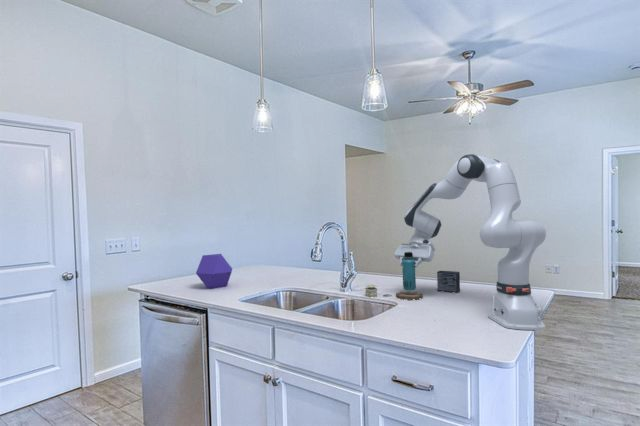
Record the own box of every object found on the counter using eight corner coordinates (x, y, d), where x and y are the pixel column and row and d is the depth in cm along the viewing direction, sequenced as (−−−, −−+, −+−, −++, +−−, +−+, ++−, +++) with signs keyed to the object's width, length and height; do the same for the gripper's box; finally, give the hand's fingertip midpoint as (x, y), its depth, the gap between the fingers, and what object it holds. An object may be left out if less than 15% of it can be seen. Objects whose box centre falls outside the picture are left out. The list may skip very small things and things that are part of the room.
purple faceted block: (228, 289, 238) (222, 258, 244) (242, 280, 224) (235, 247, 230) (192, 294, 223) (187, 261, 229) (205, 285, 209) (199, 250, 215)
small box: (460, 291, 205) (460, 271, 205) (457, 293, 200) (457, 273, 200) (440, 289, 211) (440, 269, 211) (437, 291, 205) (436, 271, 205)
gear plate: (423, 300, 185) (423, 297, 185) (396, 300, 187) (396, 296, 187) (421, 294, 197) (421, 291, 197) (395, 294, 200) (395, 291, 200)
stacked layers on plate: (384, 297, 194) (384, 286, 194) (369, 299, 190) (369, 288, 190) (373, 293, 203) (373, 283, 203) (358, 295, 199) (358, 285, 199)
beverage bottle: (414, 290, 196) (413, 251, 195) (417, 293, 189) (416, 252, 189) (401, 290, 196) (400, 251, 195) (404, 293, 189) (403, 253, 188)
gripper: (398, 239, 204) (387, 260, 197) (433, 241, 190) (424, 263, 183) (402, 247, 207) (392, 267, 200) (438, 249, 193) (429, 271, 186)
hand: (408, 265), depth 192 cm, fingers closed on beverage bottle, 6 cm apart
